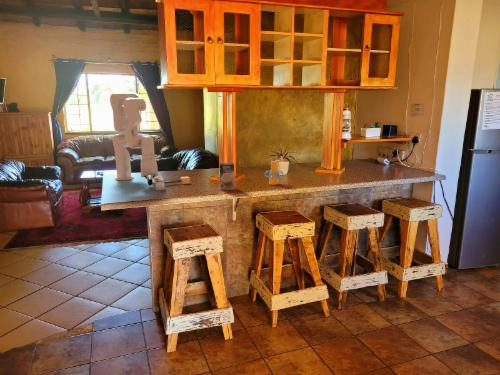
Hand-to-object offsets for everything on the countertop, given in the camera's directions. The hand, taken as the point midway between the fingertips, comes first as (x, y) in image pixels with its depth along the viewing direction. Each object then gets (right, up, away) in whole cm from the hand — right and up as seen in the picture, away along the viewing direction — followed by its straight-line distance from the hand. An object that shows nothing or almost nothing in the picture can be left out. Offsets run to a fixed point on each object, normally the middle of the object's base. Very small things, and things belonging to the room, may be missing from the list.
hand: (150, 185), depth 233 cm
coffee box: (+49, -2, -4) cm, 49 cm away
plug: (+12, 0, +7) cm, 14 cm away
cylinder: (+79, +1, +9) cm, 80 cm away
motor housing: (+5, -1, +2) cm, 6 cm away
